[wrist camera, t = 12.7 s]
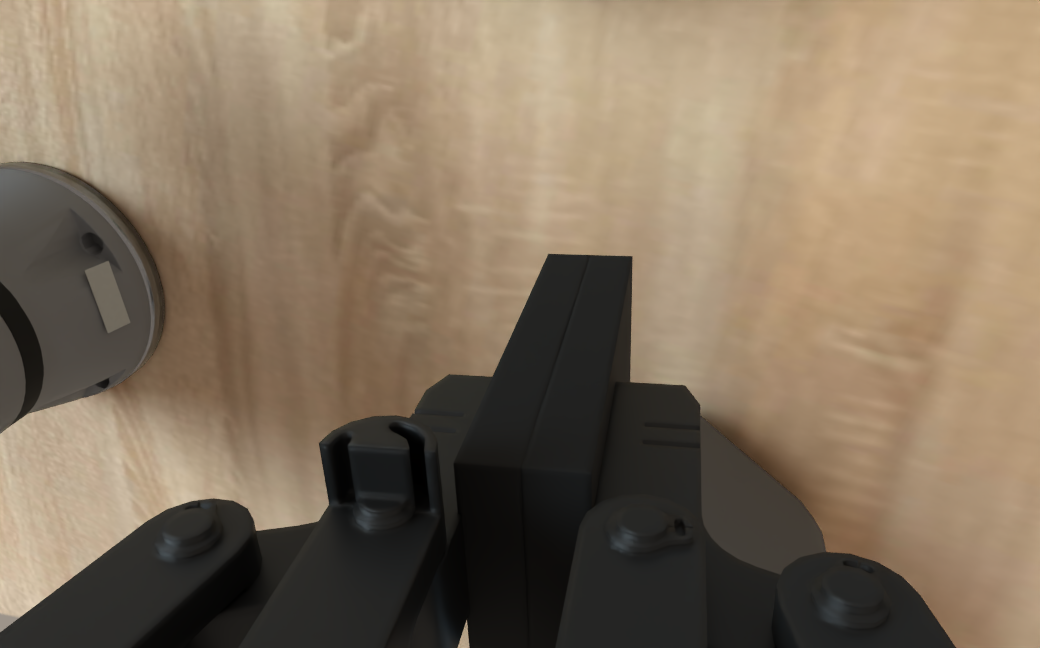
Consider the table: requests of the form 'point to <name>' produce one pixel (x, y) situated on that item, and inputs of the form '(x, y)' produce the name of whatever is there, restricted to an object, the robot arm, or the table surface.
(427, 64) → the table surface
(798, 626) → the robot arm
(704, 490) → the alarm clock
